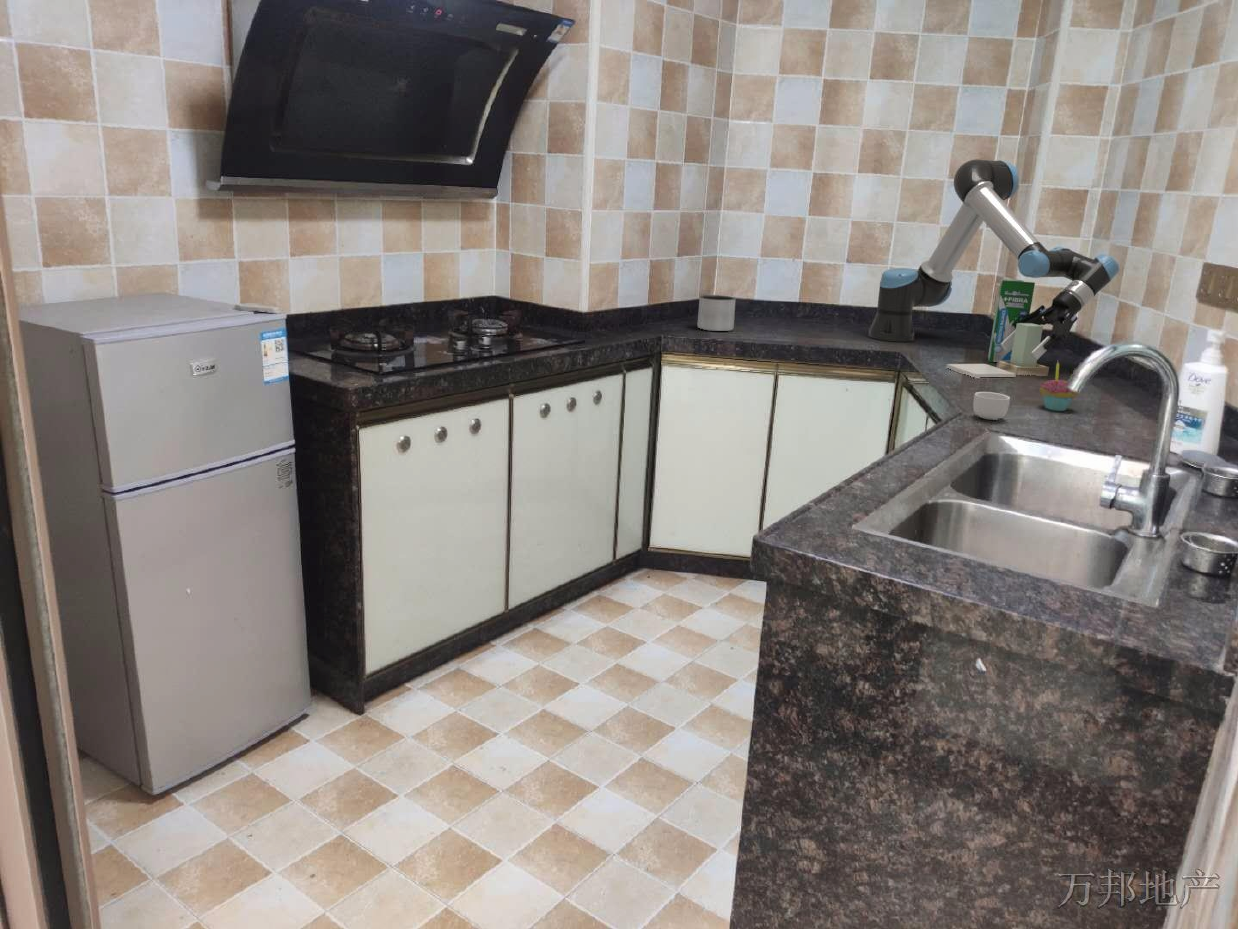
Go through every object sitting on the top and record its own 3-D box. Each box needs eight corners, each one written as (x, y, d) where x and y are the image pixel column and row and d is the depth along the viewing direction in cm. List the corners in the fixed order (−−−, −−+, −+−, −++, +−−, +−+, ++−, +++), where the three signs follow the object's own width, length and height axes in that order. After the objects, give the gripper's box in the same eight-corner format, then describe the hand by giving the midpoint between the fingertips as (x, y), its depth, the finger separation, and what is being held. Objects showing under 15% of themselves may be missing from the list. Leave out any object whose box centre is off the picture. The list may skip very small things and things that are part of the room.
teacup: (1013, 422, 211) (1017, 399, 210) (981, 422, 210) (985, 399, 209) (990, 411, 221) (994, 389, 219) (960, 411, 220) (963, 389, 218)
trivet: (946, 368, 272) (946, 364, 271) (984, 367, 275) (985, 363, 275) (975, 378, 259) (976, 374, 259) (1015, 377, 262) (1015, 373, 262)
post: (1008, 370, 272) (1016, 323, 268) (1023, 370, 274) (1031, 323, 269) (1019, 374, 268) (1028, 325, 264) (1034, 374, 269) (1043, 326, 265)
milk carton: (1018, 360, 290) (1032, 279, 282) (1020, 365, 281) (1035, 282, 274) (987, 357, 292) (1001, 277, 285) (988, 362, 284) (1002, 279, 277)
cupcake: (1056, 413, 222) (1065, 364, 218) (1028, 405, 229) (1037, 357, 226) (1082, 411, 225) (1091, 362, 222) (1053, 403, 233) (1062, 356, 229)
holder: (995, 369, 274) (997, 360, 273) (1024, 368, 277) (1026, 360, 276) (1018, 376, 265) (1019, 367, 264) (1047, 375, 267) (1049, 367, 267)
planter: (726, 333, 314) (729, 300, 311) (691, 329, 319) (694, 297, 316) (738, 329, 325) (740, 297, 322) (704, 325, 330) (706, 293, 327)
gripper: (1036, 284, 278) (985, 334, 278) (1097, 295, 255) (1041, 350, 255) (1048, 302, 281) (997, 352, 281) (1109, 315, 258) (1054, 369, 258)
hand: (1018, 351), depth 268 cm, fingers open, 13 cm apart
